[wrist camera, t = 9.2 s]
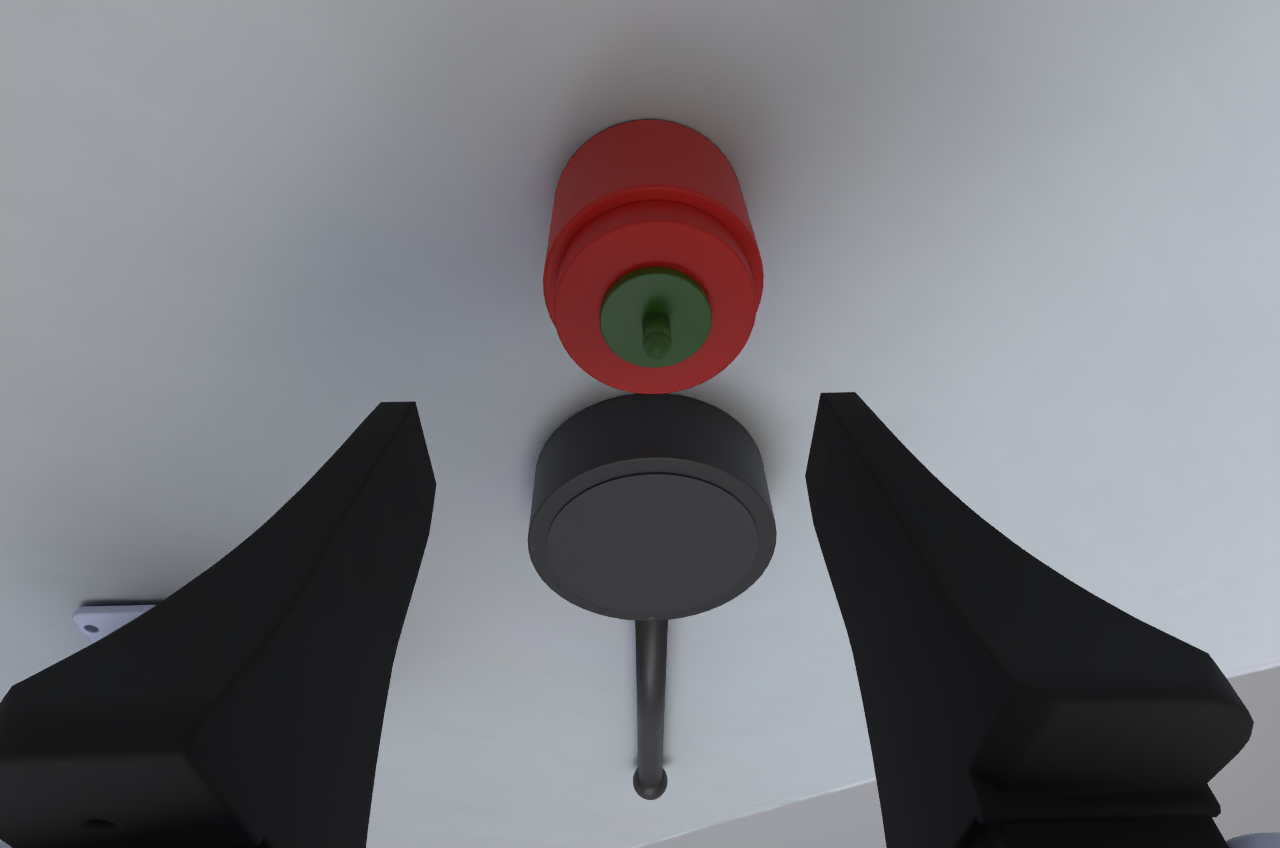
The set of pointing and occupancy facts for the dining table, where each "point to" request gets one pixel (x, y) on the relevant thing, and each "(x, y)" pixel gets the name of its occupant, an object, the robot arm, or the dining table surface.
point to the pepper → (651, 259)
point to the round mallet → (650, 529)
